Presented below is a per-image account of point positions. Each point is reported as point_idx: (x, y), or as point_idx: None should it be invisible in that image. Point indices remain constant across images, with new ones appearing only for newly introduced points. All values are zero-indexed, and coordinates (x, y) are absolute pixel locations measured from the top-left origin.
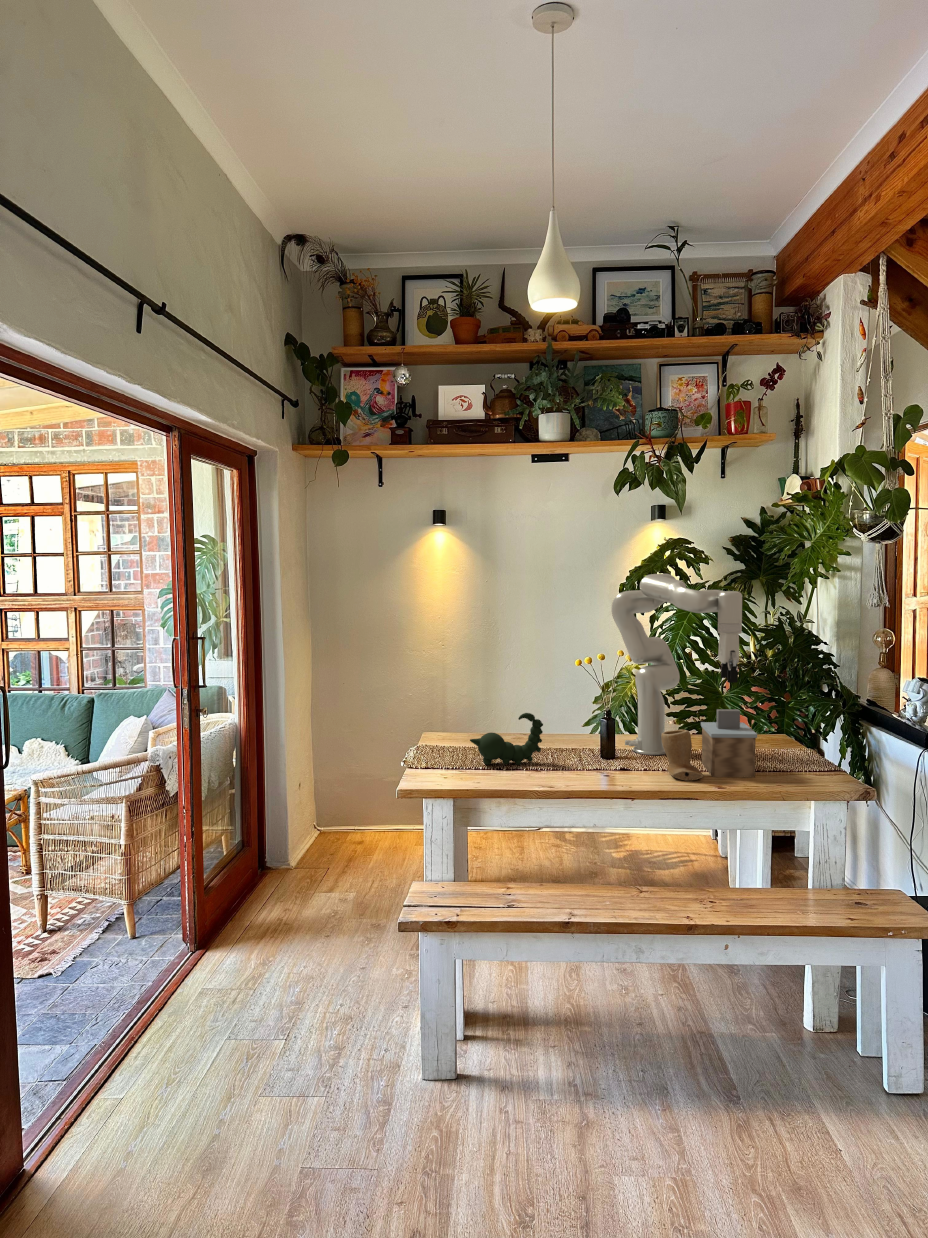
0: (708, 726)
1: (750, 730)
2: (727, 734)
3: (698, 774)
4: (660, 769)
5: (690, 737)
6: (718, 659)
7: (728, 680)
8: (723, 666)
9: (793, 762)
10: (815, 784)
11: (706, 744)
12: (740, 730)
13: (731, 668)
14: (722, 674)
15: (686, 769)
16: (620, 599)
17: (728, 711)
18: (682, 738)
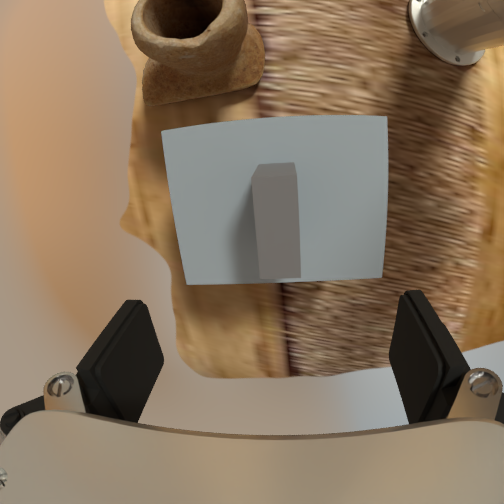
0: (301, 131)
1: (243, 276)
2: (169, 188)
3: (143, 95)
4: (264, 10)
5: (163, 60)
6: (466, 425)
7: (123, 312)
8: (440, 385)
9: (359, 329)
10: (189, 327)
11: None
12: (238, 243)
13: (42, 397)
14: (409, 317)
15: (154, 66)
16: None
17: (256, 227)
18: (133, 38)
